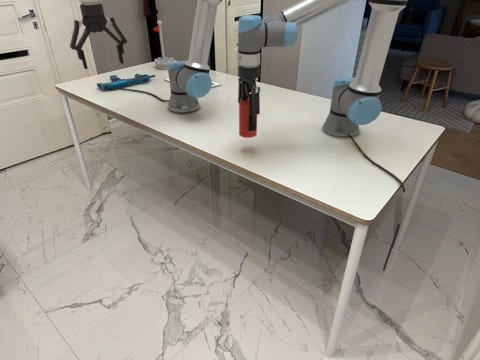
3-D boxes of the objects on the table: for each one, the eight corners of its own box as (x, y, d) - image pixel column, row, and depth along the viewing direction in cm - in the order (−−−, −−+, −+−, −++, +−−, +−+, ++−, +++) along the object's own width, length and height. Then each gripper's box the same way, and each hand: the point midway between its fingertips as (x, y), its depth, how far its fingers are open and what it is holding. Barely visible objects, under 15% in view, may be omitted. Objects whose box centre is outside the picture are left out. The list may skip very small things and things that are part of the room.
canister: (258, 131, 133) (260, 100, 126) (253, 138, 128) (254, 107, 121) (242, 129, 135) (242, 98, 128) (236, 136, 130) (236, 104, 123)
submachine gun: (141, 68, 225) (159, 74, 208) (142, 74, 227) (160, 80, 210) (89, 78, 206) (104, 86, 190) (91, 84, 208) (106, 92, 192)
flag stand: (172, 63, 245) (167, 18, 229) (176, 68, 235) (171, 21, 219) (154, 65, 241) (147, 19, 225) (157, 70, 231) (150, 22, 215)
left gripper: (54, 6, 110) (72, 73, 121) (129, 2, 122) (139, 62, 133) (49, 4, 115) (67, 68, 127) (122, 0, 127) (132, 58, 138)
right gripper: (228, 59, 124) (229, 118, 136) (251, 73, 108) (249, 138, 121) (247, 57, 126) (246, 115, 139) (272, 71, 111) (268, 135, 123)
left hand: (104, 65), depth 130 cm, fingers open, 13 cm apart
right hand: (248, 126), depth 130 cm, fingers closed on canister, 7 cm apart
